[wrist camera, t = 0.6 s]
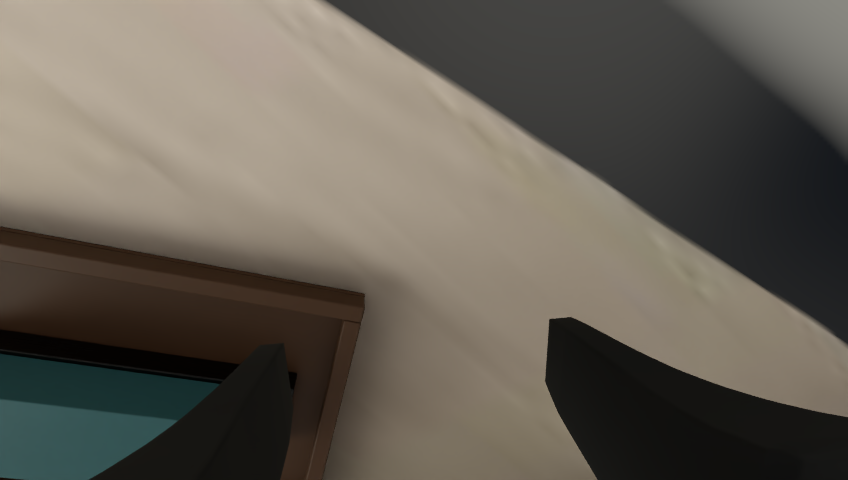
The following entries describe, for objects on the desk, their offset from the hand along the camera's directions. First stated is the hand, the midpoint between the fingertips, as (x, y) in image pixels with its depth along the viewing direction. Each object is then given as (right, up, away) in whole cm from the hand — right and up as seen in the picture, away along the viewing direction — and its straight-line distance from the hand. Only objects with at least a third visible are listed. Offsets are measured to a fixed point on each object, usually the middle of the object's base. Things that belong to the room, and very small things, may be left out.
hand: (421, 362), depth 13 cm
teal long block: (-13, -4, +10) cm, 17 cm away
